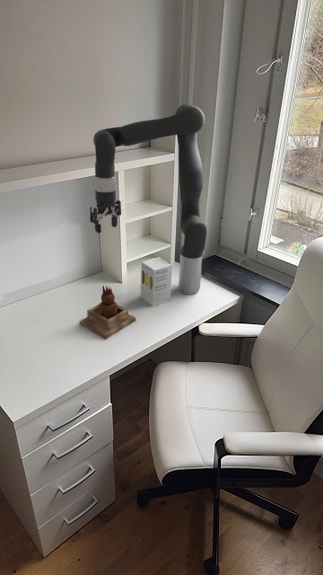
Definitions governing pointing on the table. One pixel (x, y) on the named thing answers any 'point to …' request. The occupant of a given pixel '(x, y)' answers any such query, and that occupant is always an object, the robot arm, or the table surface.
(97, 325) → the holder
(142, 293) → the supplement box
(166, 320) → the table surface
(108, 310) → the wooden figurine
